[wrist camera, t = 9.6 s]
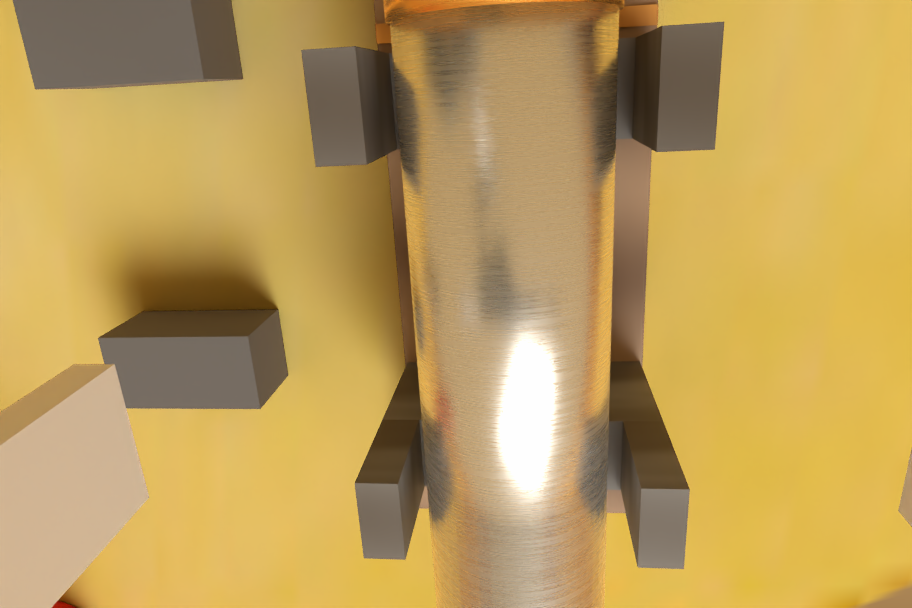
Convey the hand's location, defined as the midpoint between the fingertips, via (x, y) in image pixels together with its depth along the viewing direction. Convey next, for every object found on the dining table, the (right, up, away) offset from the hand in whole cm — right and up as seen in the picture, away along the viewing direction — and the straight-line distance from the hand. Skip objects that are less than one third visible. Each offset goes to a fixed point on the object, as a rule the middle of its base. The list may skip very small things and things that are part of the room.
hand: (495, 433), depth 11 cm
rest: (-11, +6, +15) cm, 20 cm away
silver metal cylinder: (+1, +2, +8) cm, 9 cm away
